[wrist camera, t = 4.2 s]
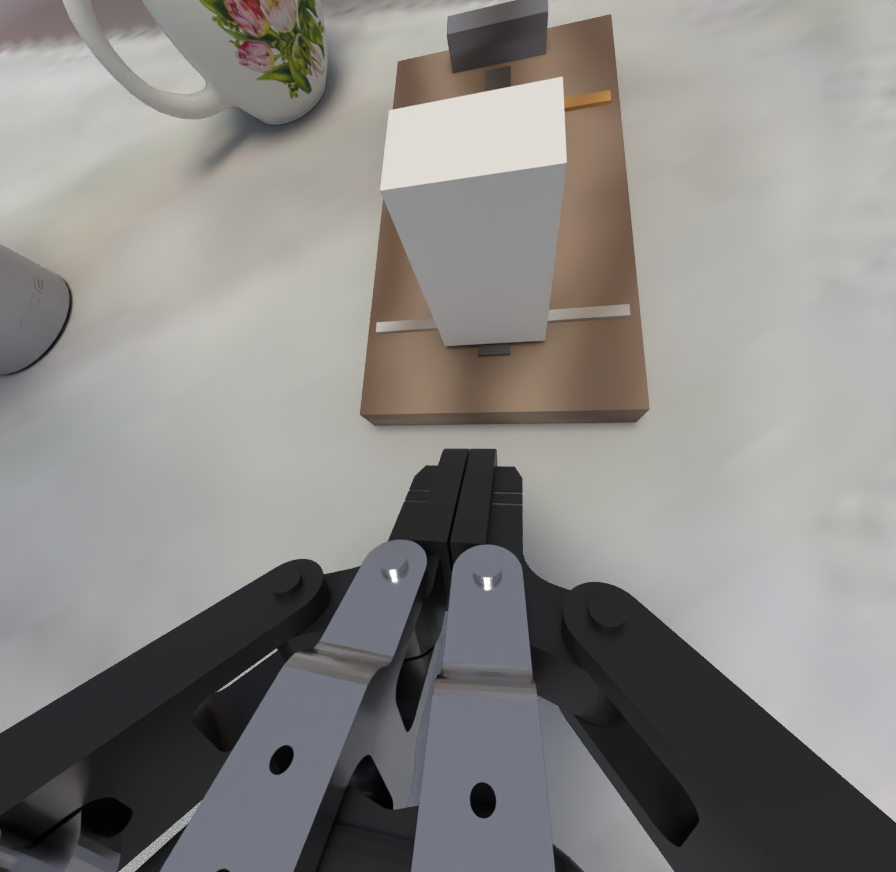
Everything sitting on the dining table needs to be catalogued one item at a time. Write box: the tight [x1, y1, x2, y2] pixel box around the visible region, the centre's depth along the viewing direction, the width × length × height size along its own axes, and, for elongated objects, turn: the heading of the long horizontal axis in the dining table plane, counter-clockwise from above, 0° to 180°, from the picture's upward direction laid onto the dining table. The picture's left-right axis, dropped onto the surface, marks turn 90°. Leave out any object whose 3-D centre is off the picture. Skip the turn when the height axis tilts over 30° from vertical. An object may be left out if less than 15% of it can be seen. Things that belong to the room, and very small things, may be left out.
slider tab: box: [380, 77, 567, 346], centre depth 14 cm, size 5×3×9 cm, turn 87°
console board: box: [360, 0, 649, 425], centre depth 21 cm, size 14×26×4 cm, turn 177°
